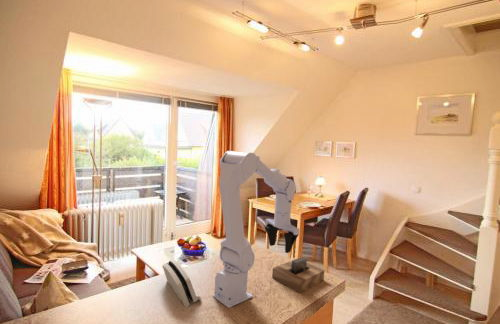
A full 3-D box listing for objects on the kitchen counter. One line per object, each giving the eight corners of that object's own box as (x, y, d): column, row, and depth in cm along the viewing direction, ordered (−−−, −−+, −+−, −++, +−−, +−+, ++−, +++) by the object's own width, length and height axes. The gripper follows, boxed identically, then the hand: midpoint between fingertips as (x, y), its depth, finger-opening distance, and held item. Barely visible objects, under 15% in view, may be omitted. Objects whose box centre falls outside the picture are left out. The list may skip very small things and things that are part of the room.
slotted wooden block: (299, 292, 88) (300, 282, 88) (272, 277, 97) (272, 268, 97) (323, 279, 98) (324, 270, 98) (296, 267, 107) (297, 258, 107)
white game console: (202, 302, 80) (193, 273, 77) (187, 312, 78) (177, 282, 75) (181, 277, 94) (173, 251, 91) (168, 284, 91) (159, 259, 89)
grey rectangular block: (294, 282, 95) (296, 262, 94) (290, 280, 96) (291, 260, 96) (305, 277, 99) (306, 258, 98) (300, 275, 100) (302, 256, 100)
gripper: (305, 215, 96) (302, 252, 97) (275, 206, 107) (272, 240, 108) (293, 217, 92) (289, 257, 93) (262, 208, 102) (259, 243, 103)
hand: (279, 248), depth 100 cm, fingers open, 7 cm apart
